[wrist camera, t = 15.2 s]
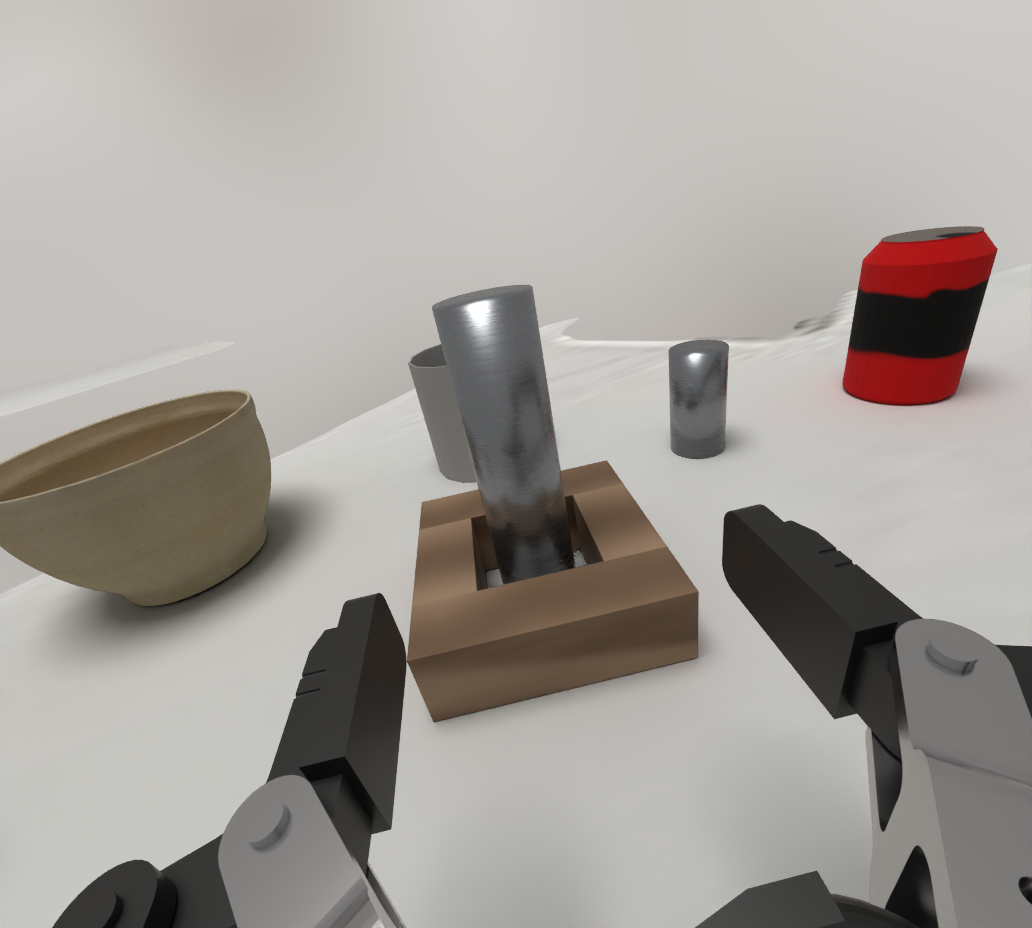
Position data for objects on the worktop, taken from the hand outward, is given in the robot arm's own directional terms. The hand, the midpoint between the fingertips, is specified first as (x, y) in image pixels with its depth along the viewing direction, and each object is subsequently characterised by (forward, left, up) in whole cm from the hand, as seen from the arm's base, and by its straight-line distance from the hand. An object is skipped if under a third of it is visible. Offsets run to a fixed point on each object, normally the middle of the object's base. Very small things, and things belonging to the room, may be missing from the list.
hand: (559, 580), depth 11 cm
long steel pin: (-9, -7, -11) cm, 15 cm away
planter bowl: (-3, -33, -11) cm, 35 cm away
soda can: (-40, +12, -11) cm, 43 cm away
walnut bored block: (-9, -7, -11) cm, 16 cm away
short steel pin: (-27, -2, -11) cm, 30 cm away
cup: (-22, -19, -11) cm, 31 cm away
